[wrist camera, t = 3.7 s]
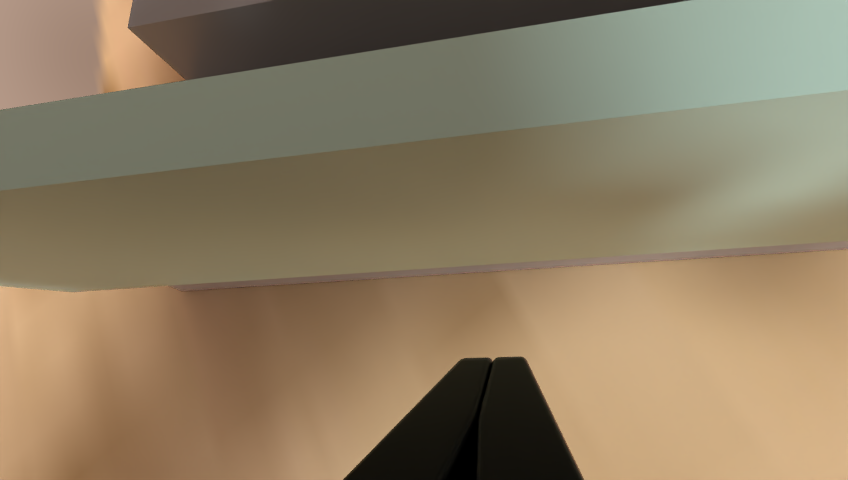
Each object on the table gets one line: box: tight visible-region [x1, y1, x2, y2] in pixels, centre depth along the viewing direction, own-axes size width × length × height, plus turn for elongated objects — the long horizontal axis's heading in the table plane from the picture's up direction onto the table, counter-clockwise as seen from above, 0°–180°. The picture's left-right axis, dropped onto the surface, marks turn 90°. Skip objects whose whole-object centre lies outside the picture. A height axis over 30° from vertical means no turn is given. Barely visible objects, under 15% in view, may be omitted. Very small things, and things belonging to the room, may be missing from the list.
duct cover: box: [0, 0, 848, 292], centre depth 9 cm, size 9×22×2 cm
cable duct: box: [128, 0, 848, 291], centre depth 16 cm, size 8×22×4 cm, turn 90°
